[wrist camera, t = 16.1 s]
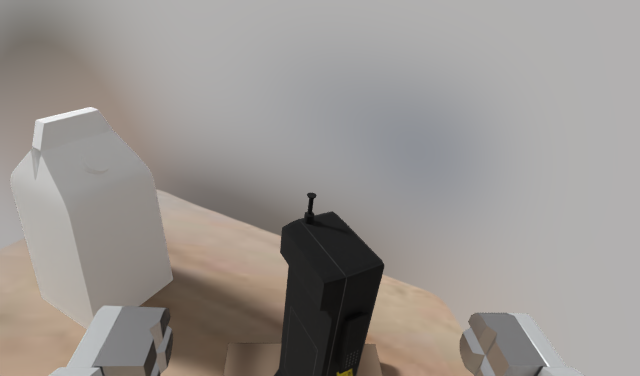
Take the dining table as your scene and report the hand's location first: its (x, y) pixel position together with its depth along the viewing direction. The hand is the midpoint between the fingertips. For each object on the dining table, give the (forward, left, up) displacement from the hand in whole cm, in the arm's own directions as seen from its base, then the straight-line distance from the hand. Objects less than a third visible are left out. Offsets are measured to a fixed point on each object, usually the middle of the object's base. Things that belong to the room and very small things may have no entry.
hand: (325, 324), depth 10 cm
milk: (+24, -33, -34) cm, 53 cm away
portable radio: (-3, -14, -31) cm, 34 cm away
